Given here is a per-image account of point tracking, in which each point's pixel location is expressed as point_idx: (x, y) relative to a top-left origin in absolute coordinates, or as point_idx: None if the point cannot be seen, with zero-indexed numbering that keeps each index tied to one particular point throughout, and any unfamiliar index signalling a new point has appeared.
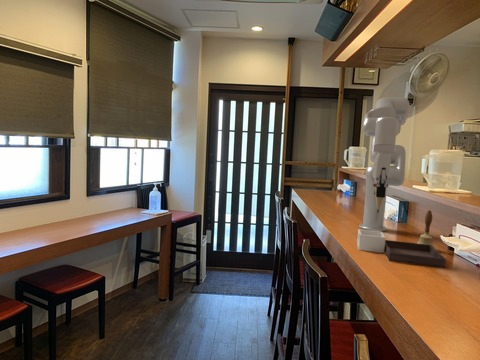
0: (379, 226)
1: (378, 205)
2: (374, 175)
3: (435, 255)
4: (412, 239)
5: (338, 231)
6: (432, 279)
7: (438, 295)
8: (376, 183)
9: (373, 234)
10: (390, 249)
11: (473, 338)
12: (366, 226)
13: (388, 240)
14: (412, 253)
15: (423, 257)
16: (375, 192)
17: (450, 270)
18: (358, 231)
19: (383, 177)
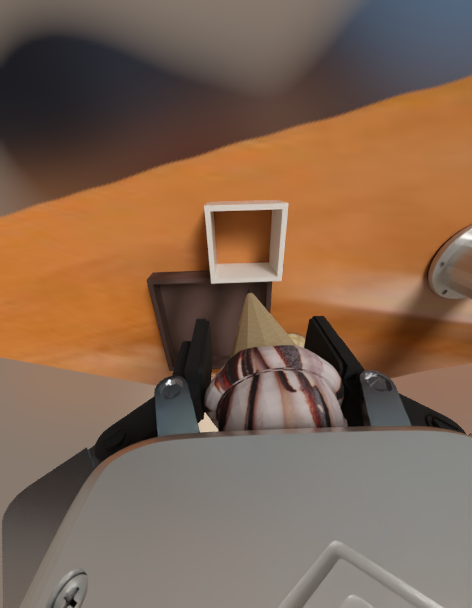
0: (449, 282)
1: (243, 306)
2: (181, 487)
3: (219, 359)
4: (359, 340)
5: (427, 130)
6: (89, 331)
7: (12, 325)
8: (237, 389)
9: (276, 253)
10: (240, 285)
11: None
12: (467, 243)
13: (268, 289)
14: (230, 324)
15: (162, 339)
16: (256, 328)
17: (164, 363)
18: (271, 203)
19: (12, 534)
